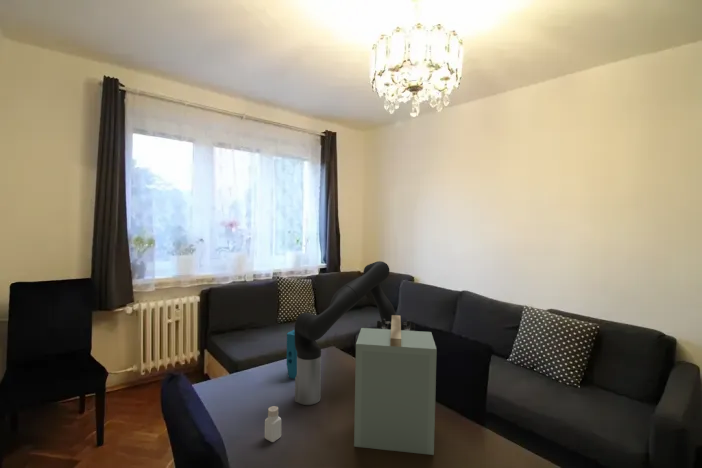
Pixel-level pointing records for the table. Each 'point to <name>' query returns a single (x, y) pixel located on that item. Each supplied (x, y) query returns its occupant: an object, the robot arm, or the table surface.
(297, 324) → the robot arm
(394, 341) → the slat
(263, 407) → the table surface
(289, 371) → the block
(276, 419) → the salt shaker
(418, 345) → the tall sage green box
